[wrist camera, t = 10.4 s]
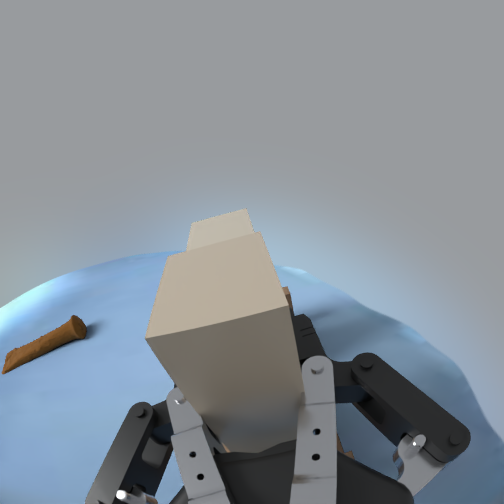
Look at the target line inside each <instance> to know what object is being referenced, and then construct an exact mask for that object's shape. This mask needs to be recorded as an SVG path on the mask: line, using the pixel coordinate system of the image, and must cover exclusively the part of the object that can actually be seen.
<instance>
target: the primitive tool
mask: <svg viewBox="0 0 504 504" xmlns="http://www.w3.org/2000/svg"><path fill="white" fill-rule="evenodd" d="M86 332H87V330H86V325H85V324H84V323H83V321H82V319H80V318H79V317H77V316H75V315H73V316H72V317H71V319H70V320H69V321H68V322H66V323H65V324H63V325H62V326H61V327H59V328H56V329H55V330H53V331H51V332H49V333H47V334H46V335H44V336H41V337H40V338H38V339H36V340H34V341H33V342H30V343H29V344H27V345H24V346H22V347H20V348H18V349H17V348H14V349H13V350H12V351H10V352H9V353H7V356H6V359H5V364H4V367H3V371H2V374H5V373H7V372H9V371H11V370H13V369H15V368H17V367H19V366H20V365H22V364H24V363H27V362H29V361H31V360H32V359H35V358H37V357H39V356H41V355H43V354H45V353H47V352H49V351H51V350H53V349H54V348H56V347H58V346H61V345H62V344H64V343H67V342H69V341H71V340H73V339H77V338H78V339H84V338H85V336H86Z"/></svg>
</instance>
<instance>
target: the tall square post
mask: <svg viewBox="0 0 504 504" xmlns="http://www.w3.org/2000/svg"><path fill="white" fill-rule="evenodd" d="M252 233H255V232H254V229H253V226H252V224H251V221H250V218H249V215H248V212H247V209H242V210H238V211H234V212H230V213H227V214H223V215H219V216H216V217H212V218H208V219H205V220H201V221H197V222H194V223H192V225H191V229H190V234H189V239H188V244H187V250H186V251H189V250H192V249H196V248H200V247H203V246H207V245H211V244H214V243H218V242H222V241H226V240H229V239H233V238H237V237H241V236H244V235H248V234H252Z"/></svg>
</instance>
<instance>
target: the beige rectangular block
mask: <svg viewBox="0 0 504 504" xmlns="http://www.w3.org/2000/svg"><path fill="white" fill-rule="evenodd" d="M145 340H146V341H147V343H148V344H149V346H150V347H151V349H152V351H153V352H154V354H155V355H156V357H157V358H158V360H159V361H160V363H161V364H162V366H163V367H164V369H165V370H166V371H167V373H168V374H169V376H170V377H171V379H172V380H173V381H174V383H175V384H176V386H177V387H178V388H179V390H180V391H181V392H182V394H183V395H184V396H185V398H186V399H187V400H188V402H189V403H190V404H191V406H192V407H193V408H194V409H195V411H196V412H197V413H198V414H201V415H202V417H203V418H204V419H205V422H206V424H207V425H208V427H209V428H210V429H211V430H212V431H213V433H214V434H217V435H218V436H219V437H220V439H221V441H222V443H223V444H224V445H225V446H226V447H227V448H228V450H229V451H230V452H247V453H259V452H261V451H264V450H266V449H268V448H271V447H273V446H275V445H277V444H279V443H282V442H287V441H291V440H295V439H297V426H298V410H299V405H300V402H301V392H305V390H304V385H303V379H302V373H301V368H300V362H299V357H298V352H297V346H296V341H295V335H294V330H293V325H292V320H291V315H290V310H289V305H288V302H287V299H286V297H285V294H284V292H283V289H282V286H281V284H280V281H279V279H278V276H277V273H276V271H275V268H274V266H273V263H272V261H271V258H270V255H269V253H268V250H267V248H266V245H265V242H264V240H263V237H262V235H261V232H256V233H252V234H248V235H244V236H241V237H237V238H233V239H229V240H226V241H222V242H218V243H214V244H211V245H207V246H203V247H200V248H196V249H192V250H189V251H185V252H181V253H178V254H174V255H171V256H168V258H167V261H166V264H165V268H164V271H163V274H162V278H161V281H160V284H159V288H158V291H157V295H156V298H155V302H154V305H153V309H152V313H151V316H150V320H149V324H148V328H147V332H146V336H145Z"/></svg>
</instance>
